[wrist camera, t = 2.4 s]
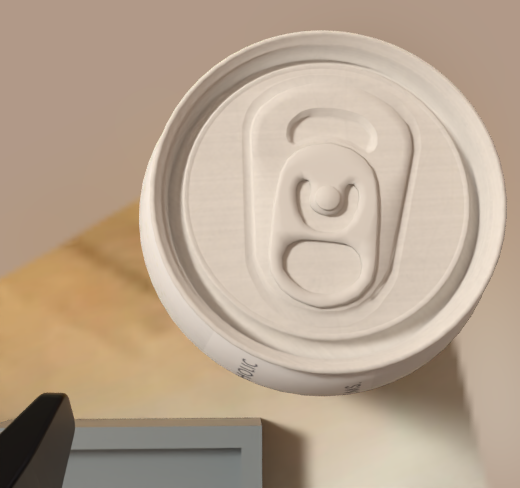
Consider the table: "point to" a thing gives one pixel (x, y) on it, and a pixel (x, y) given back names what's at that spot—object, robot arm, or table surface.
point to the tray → (165, 453)
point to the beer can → (322, 213)
